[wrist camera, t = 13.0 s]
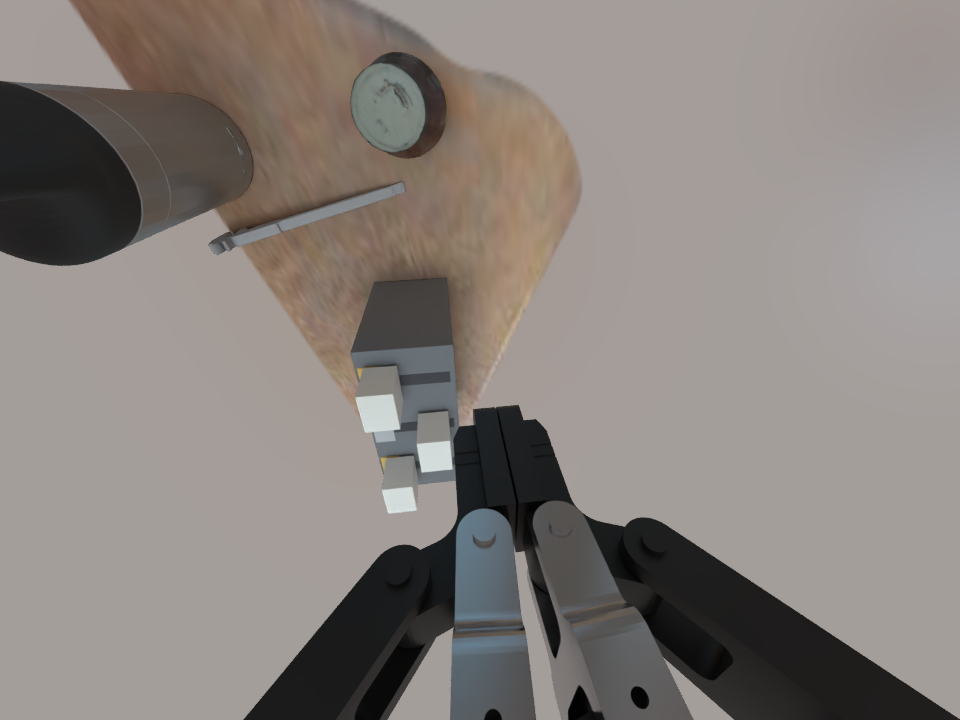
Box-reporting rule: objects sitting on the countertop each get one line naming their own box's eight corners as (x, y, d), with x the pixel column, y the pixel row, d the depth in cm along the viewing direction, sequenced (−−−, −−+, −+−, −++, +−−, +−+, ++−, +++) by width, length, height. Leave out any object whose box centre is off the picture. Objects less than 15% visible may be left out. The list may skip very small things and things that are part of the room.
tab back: (391, 481, 41) (388, 513, 38) (385, 458, 39) (381, 490, 36) (418, 479, 42) (417, 510, 38) (413, 455, 39) (412, 486, 36)
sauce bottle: (440, 63, 34) (448, 18, 18) (451, 141, 37) (466, 163, 21) (370, 74, 34) (313, 38, 17) (388, 150, 37) (354, 180, 21)
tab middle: (422, 441, 38) (421, 472, 35) (417, 413, 36) (416, 444, 33) (450, 439, 39) (452, 469, 35) (448, 411, 36) (449, 440, 33)
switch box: (397, 399, 56) (386, 488, 42) (374, 282, 45) (350, 353, 32) (455, 394, 56) (463, 480, 43) (446, 277, 46) (453, 345, 32)
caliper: (232, 241, 41) (204, 260, 36) (226, 231, 40) (196, 249, 35) (406, 190, 40) (402, 202, 35) (402, 180, 39) (398, 190, 34)
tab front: (371, 402, 35) (365, 432, 31) (362, 368, 32) (355, 397, 29) (403, 399, 35) (400, 429, 32) (396, 365, 33) (392, 394, 29)
